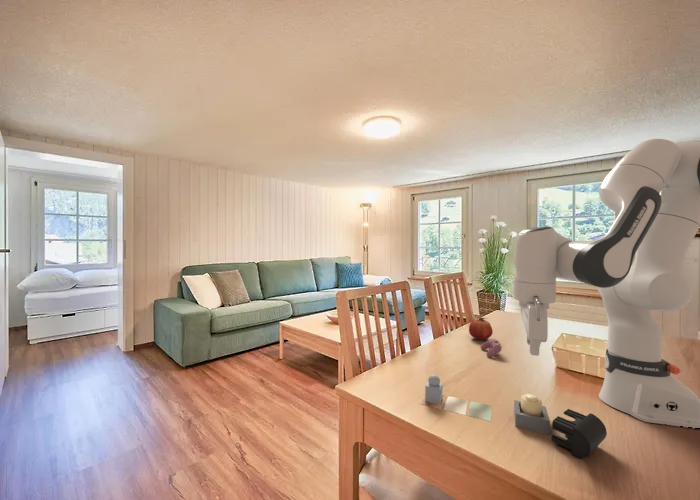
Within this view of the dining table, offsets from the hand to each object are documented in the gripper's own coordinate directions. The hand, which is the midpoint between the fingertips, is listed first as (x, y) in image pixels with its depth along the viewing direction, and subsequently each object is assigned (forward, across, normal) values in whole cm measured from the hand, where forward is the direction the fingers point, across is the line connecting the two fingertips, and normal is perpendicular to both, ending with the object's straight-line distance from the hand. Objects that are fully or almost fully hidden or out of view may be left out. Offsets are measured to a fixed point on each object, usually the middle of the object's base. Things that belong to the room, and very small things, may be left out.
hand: (532, 349), depth 75 cm
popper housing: (+19, 0, 0) cm, 19 cm away
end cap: (+19, -5, -9) cm, 22 cm away
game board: (+19, 0, +18) cm, 26 cm away
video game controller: (+19, +49, +10) cm, 53 cm away
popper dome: (+16, 0, 0) cm, 16 cm away
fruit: (+19, +67, +15) cm, 71 cm away
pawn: (+18, 0, +24) cm, 30 cm away
